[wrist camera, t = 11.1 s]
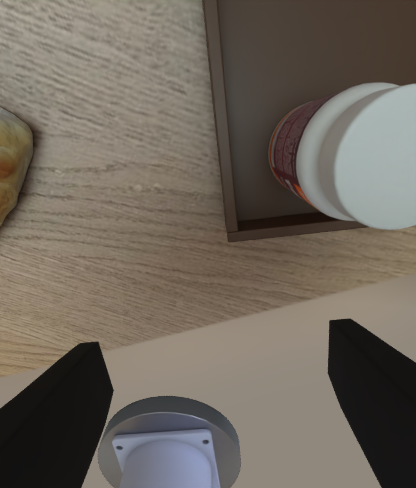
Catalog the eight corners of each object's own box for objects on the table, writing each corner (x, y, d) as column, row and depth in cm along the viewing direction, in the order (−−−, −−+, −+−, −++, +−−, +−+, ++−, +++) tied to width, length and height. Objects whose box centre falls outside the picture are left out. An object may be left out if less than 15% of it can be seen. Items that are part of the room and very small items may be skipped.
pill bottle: (259, 186, 17) (301, 231, 9) (277, 95, 15) (350, 50, 7) (339, 198, 17) (450, 253, 9) (366, 110, 15) (533, 80, 7)
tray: (439, 203, 18) (479, 215, 15) (226, 227, 18) (228, 243, 16) (501, -176, 12) (583, -264, 9) (189, -119, 13) (183, -185, 10)
